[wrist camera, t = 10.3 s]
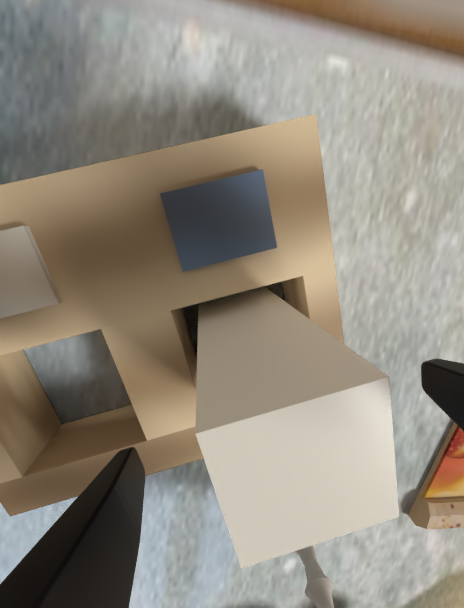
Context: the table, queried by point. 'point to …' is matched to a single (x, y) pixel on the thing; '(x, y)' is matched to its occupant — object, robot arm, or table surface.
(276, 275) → the socket board
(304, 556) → the chalice
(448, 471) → the pizza slice
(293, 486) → the plug
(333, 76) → the table surface
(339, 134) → the table surface
